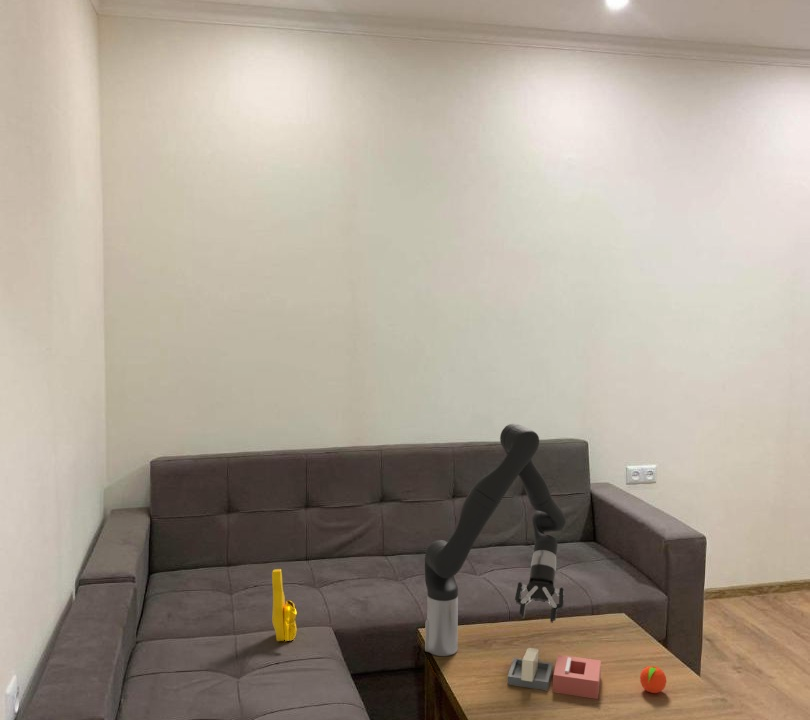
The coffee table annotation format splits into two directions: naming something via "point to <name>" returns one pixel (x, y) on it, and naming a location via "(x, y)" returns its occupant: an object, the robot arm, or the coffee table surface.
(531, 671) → the tall beige block
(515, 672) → the tray
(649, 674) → the clementine
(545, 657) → the coffee table surface
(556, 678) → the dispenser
